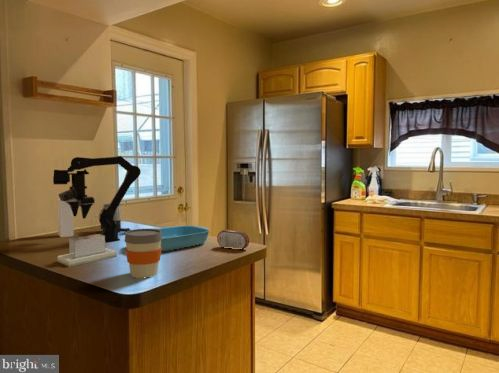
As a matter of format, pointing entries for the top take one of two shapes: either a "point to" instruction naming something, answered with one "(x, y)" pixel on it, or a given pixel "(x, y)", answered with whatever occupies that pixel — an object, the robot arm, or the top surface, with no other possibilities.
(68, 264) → the tray
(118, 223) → the milk frother
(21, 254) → the top surface
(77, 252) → the white rectangular block
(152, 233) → the reusable coffee cup
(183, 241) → the casserole dish
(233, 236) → the portable speaker
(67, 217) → the milk
